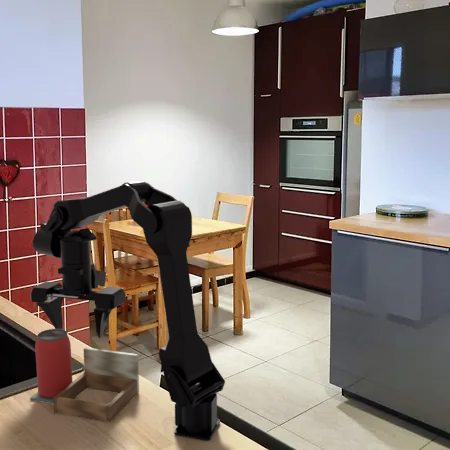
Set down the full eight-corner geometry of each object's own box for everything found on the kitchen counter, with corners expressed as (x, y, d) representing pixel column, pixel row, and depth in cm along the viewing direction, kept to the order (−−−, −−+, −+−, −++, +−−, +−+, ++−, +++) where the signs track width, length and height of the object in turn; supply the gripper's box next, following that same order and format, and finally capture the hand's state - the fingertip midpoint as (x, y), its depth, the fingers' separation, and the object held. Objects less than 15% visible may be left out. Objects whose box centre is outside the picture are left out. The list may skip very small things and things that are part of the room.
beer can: (61, 380, 118) (58, 325, 116) (79, 391, 114) (76, 333, 111) (31, 392, 113) (27, 334, 111) (49, 403, 109) (45, 343, 107)
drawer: (139, 392, 114) (138, 354, 113) (110, 422, 103) (109, 381, 102) (86, 384, 118) (85, 347, 116) (53, 413, 106) (51, 372, 105)
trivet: (79, 388, 116) (79, 385, 116) (59, 404, 109) (59, 402, 109) (51, 383, 118) (50, 381, 118) (30, 399, 111) (30, 397, 111)
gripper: (136, 254, 120) (138, 326, 123) (57, 249, 126) (61, 318, 128) (111, 267, 110) (114, 345, 113) (26, 261, 115) (31, 336, 118)
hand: (80, 335), depth 118 cm, fingers open, 9 cm apart
